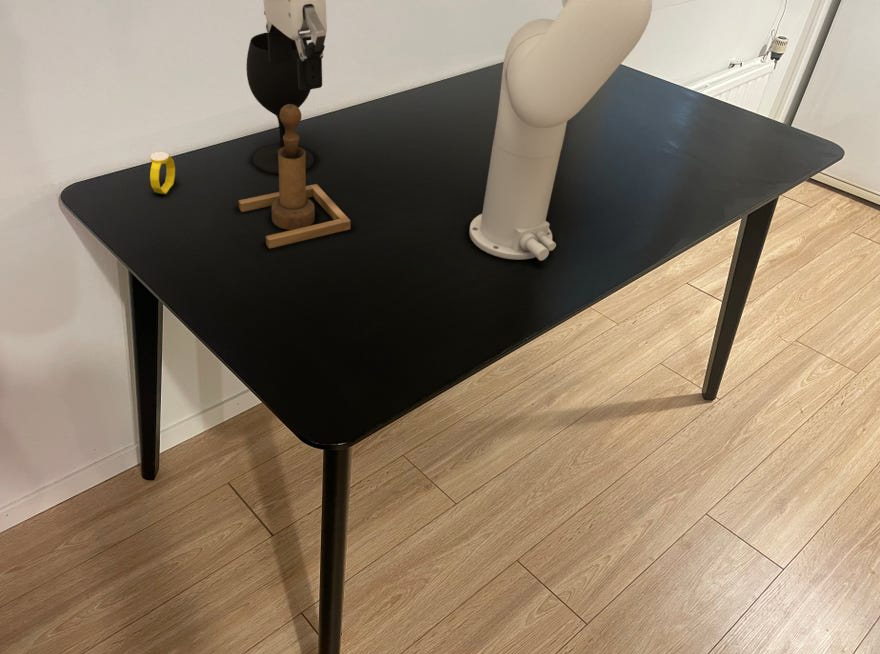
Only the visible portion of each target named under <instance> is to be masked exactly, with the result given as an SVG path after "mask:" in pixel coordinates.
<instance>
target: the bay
mask: <svg viewBox="0 0 880 654" xmlns="http://www.w3.org/2000/svg"><path fill="white" fill-rule="evenodd" d="M279 197H280V196H279V191H277V192H272V193H267V194H262V195H258V196H254V197H253V196H252V197H248V198H244V199H239V200H238V209H239V210H240V212H241V213H244V212H249V211H254V210H259V209H263V208H267V207H272V203H273V202H274V201H275V200H276V199H278V198H279ZM306 197H307V198H308V199H309V198H313V199H314V200H315V201H316V202H317V203H318V204H319V205H320V206H321V208H322V209H324V211H325V212H326V213H327V214H328V215H329V216H330V218H331V219H332V220H330V221H329V220H328V221H325V222H321V223H317V224H312V225H310V226H307V227H303V228H299V229H295V230H286V231H282V232H277V233H273V234H269V235H266V236H265V245H266V246H267V248H268V249H275V248H278V247H282V246H287V245H291V244H295V243H299V242H304V241H309V240H312V239H316V238H320V237H323V236H329V235H332V234H335V233H336V234H337V233H342V232H345V231H348V230H351V227H352V226H351V225H352V224H351V223H352V222H351V219H350V218H349V217H348V216H347V215H346V214H345V213H344V212H343V211H342V210H341V209H340V207H339V206H338V205H337V204H336V203H335V202H334V201H333V200H332V199H331V198H330V196H328V195H327V193H326V192H325V191H324V190H323V189H322V188H321V187H320V186H319V184H317V183H315V184H310V185H306Z"/></svg>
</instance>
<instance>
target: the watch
mask: <svg viewBox="0 0 880 654" xmlns="http://www.w3.org/2000/svg"><path fill="white" fill-rule="evenodd" d="M149 157H150V162H151V165H150V172H149V173H150V174H149V180H150V181H149V182H150V186H151V189H152V190H153V192H154V193H157V194H160V195H167V194H168V192H169V191H170V189H171V188H172V187H173V186H174V184H175V178H176V164H175V161H174V159H173V158H172V156H171V155H169V153H168V152H165V151H155V152H153V153H151V154H150V156H149ZM164 164H165V166H166V168H165V169H166V170H165V172H166V173H165V179H164V183H163V184H162V185H161V183H160V172H161V171H160V170H161V167H162V165H164Z"/></svg>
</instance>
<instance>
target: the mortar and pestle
mask: <svg viewBox="0 0 880 654" xmlns="http://www.w3.org/2000/svg"><path fill="white" fill-rule="evenodd" d="M279 116H280V120H281V122H282V124H283V125H284V127H285V135H284V136H283V140H284V144H285V147H282V148H280V149H279V151H278V162H279V175H278V180H279V181H278V183H279V184H278V188H279V189H278V190H279V191H278V192H279V196H280V197H279V198H278V199H276V200H275V201H274V202H273V203H272V206H271V221H272V223H273V224H274V226H276V227H277V228H280V229H282V230H286V231H290V230H295V229H299V228H303V227H307V226H312V225H314V223H315V217H316V215H315V214H316V211H315V209H316V208H315V203H314V202H313V201H312V200H311V199H309V198H307V197H306V186H307V185H306V184H307V183H306V182H307V181H306V180H307V179H306V178H307V176H306V175H307V173H306V171H307V170H306V168H305V151H304V150H303V149H302V148H303V147H301V146H299V142H300V135H299V134H297V128H298V126H299V124H300V123H301V120H302V112H301V110H300V107H299V108H298V107H297V106H295V105H293V104H287V105H285V106H283V107H282V109H281V110H280V114H279ZM300 147H301V148H300Z"/></svg>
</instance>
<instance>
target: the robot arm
mask: <svg viewBox="0 0 880 654" xmlns="http://www.w3.org/2000/svg"><path fill="white" fill-rule="evenodd" d="M262 1H263V11H264V12H263V15H264V16H265V18H266V23H265V30H266V33H267V32H268V33H271V34H267V37H268V52H269V62H270V63H271V64H280V63H286V62H291V60H292V49H291V39H292V40H295V42H296V46H297V49H298V52H299V56H300V59H297V68H298V88H299V89H300V90H301V91H305V90H310V89H311V90H316V89H321V88H322V86H323V58H324V51H325V48H326V47H325V41H326V37H327V31H328V27H327V26H328V24H327V4H326V0H262ZM561 2H562V3H561V4H562V9H561V11H560V12H559V13H558V15H557V16H556V17H555V18H554V19H550V18H538V19H533V20H531V21H529V22H527V23H525V24H524V25H523V26H521V27H520V28H519V29H517V30H516V32H515V33H514V34H513V36H512V37H511V39H510V41H509V42H508V44H507V47H506V50H505V54H504V58H503V64H502V71H501V72H502V73H501V84H500V92H499V100H498V109H497V115H496V123H495V129H494V136H493V141H492V147H491V154H490V161H489V166H488V167H489V168H488V173H487V180H486V187H485V193H484V199H483V205H482V213H480V214H479V215H477V216H476V217H474V218H473V219H472V221H471V222H470V224H469V232H468V234H469V238H470V241H472V242H473V244H474V245H475V246H476V247H477V248H479V249H480V250H482V251H483V252H484V253H487V254H489V255H492V256H493V257H498V258H501V259H506V260H517V261H519V260H530V259H535V258H536V259H537V260H538V261H544V260H546V259H547V258H548V256H549V254H550V252H551V251H553V250H554V249H555V248H556V246H557V243H556V242H555V241H554V240H553V232H552V230H551V229H550V222H548V221H547V216H548V211H549V206H550V203H551V197H552V193H553V188H554V184H555V179H556V174H557V171H558V165H559V160H560V157H561V151H562V149H563V146H564V145H563V144H564V141H565V140H564V139H565V136H566V129H567V126H568V125H567V124H568V121H569V120H572V118H573V117H575V116H576V115H577V114H578V113H579V112H580V111H582V109H583V108H584V107H585V106H586V104H588V103H589V102H590V101H591V99H592V98H593V97H594V96H595V95H596V94H597V92H598V91H599V90H600V89H601V88H602V87H603V86H604V84H605V83H606V82H607V81H608V80H609V78H610V77H611V76H612V75H613V74H614V73H615V72H616V70H617V69H618V68H619V66H620V65H622V63H623V62H624V61H625V60H626V58H627V57H628V56H629V55H630V54H631V52H632V51H633V50H634V49H635V47H636V46H637V44H638V43H639V42H640V40H641V39H642V37H643V35H644V33H645V31H646V29H647V27H648V24H649V22H650V20H651V16H652V15H651V14H652V9H653V0H561ZM308 31H309V32H308ZM303 41H307V42H308V41H310V42H308V45H307V47H306V49H305V46H304V43H303ZM311 90H310V91H311Z"/></svg>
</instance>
